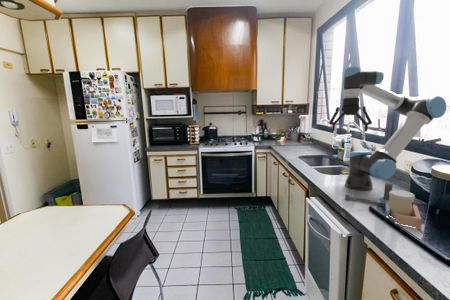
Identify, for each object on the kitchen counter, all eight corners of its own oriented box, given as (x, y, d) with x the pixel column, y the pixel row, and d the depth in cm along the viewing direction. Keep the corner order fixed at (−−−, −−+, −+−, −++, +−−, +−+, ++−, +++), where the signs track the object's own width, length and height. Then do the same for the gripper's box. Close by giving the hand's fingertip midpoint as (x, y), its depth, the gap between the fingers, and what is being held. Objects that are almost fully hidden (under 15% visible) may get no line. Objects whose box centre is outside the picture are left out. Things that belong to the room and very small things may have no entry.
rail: (345, 197, 128) (346, 192, 127) (403, 207, 113) (404, 202, 113) (345, 199, 126) (345, 194, 125) (404, 209, 111) (404, 203, 111)
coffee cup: (417, 223, 99) (420, 197, 97) (393, 222, 101) (395, 196, 98) (404, 213, 108) (407, 189, 106) (383, 212, 110) (385, 189, 107)
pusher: (379, 202, 119) (381, 182, 117) (393, 205, 116) (396, 184, 114) (379, 216, 105) (381, 194, 103) (395, 219, 102) (398, 196, 100)
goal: (393, 209, 112) (394, 201, 111) (415, 213, 107) (416, 204, 106) (394, 224, 99) (395, 214, 98) (420, 229, 94) (421, 219, 93)
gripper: (324, 98, 123) (323, 137, 127) (379, 95, 109) (375, 139, 113) (327, 98, 129) (325, 135, 133) (379, 96, 115) (376, 137, 119)
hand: (348, 137), depth 123 cm, fingers open, 13 cm apart
